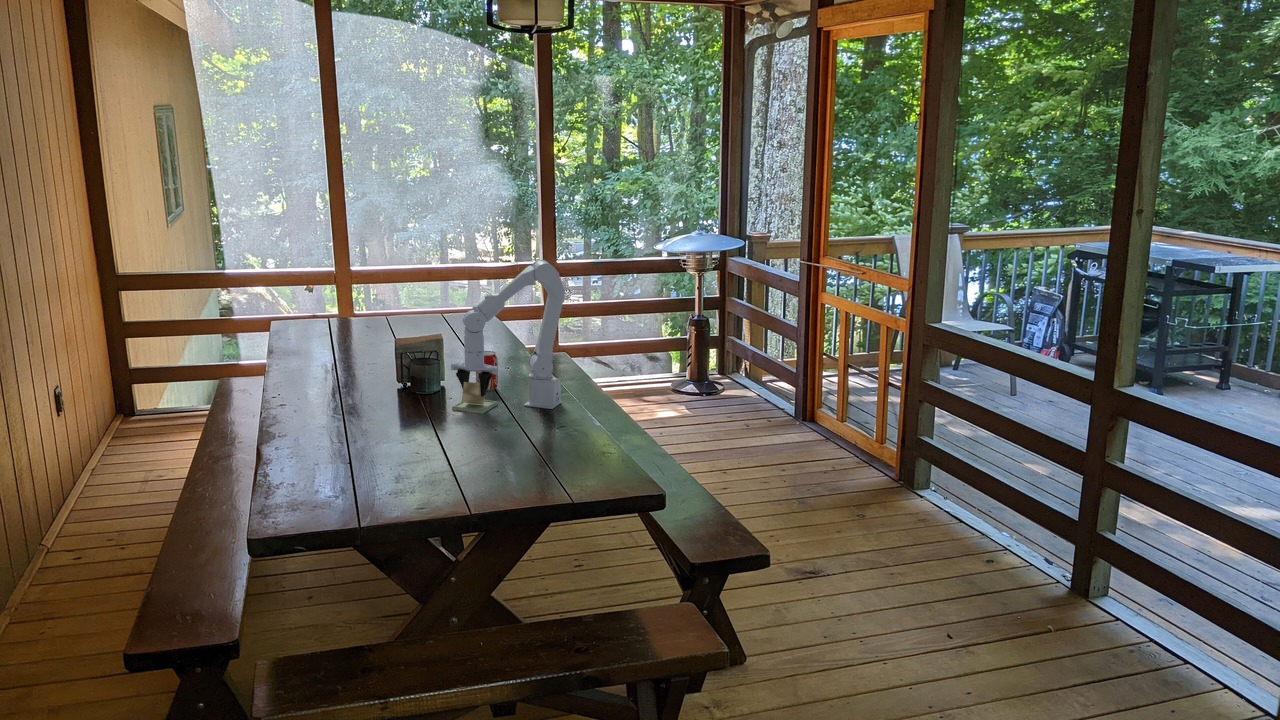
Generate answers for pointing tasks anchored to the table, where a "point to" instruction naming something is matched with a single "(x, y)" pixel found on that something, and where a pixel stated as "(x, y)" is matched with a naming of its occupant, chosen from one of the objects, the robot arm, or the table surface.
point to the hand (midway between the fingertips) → (474, 394)
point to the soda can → (493, 361)
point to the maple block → (472, 393)
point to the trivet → (475, 406)
